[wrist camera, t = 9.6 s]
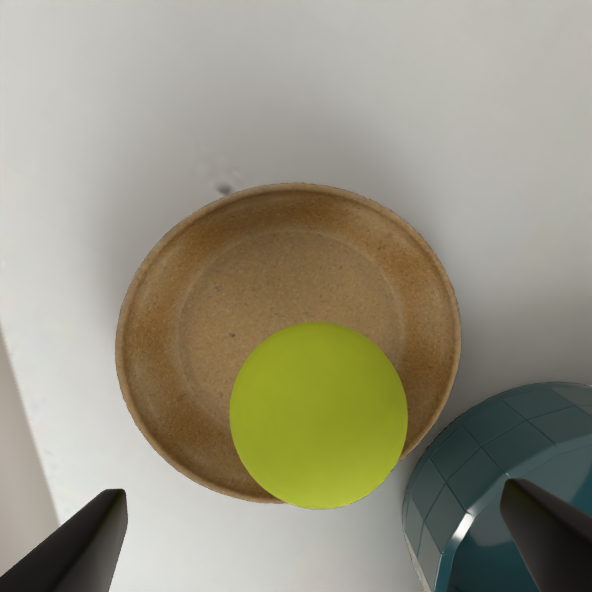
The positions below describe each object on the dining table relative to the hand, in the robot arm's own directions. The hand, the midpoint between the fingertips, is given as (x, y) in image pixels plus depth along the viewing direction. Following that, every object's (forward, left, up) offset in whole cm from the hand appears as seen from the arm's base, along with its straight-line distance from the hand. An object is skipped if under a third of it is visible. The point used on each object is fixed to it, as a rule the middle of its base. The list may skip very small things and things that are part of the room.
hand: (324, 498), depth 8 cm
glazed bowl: (-10, -15, -10) cm, 20 cm away
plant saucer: (0, 0, -10) cm, 10 cm away
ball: (0, 0, -7) cm, 7 cm away
